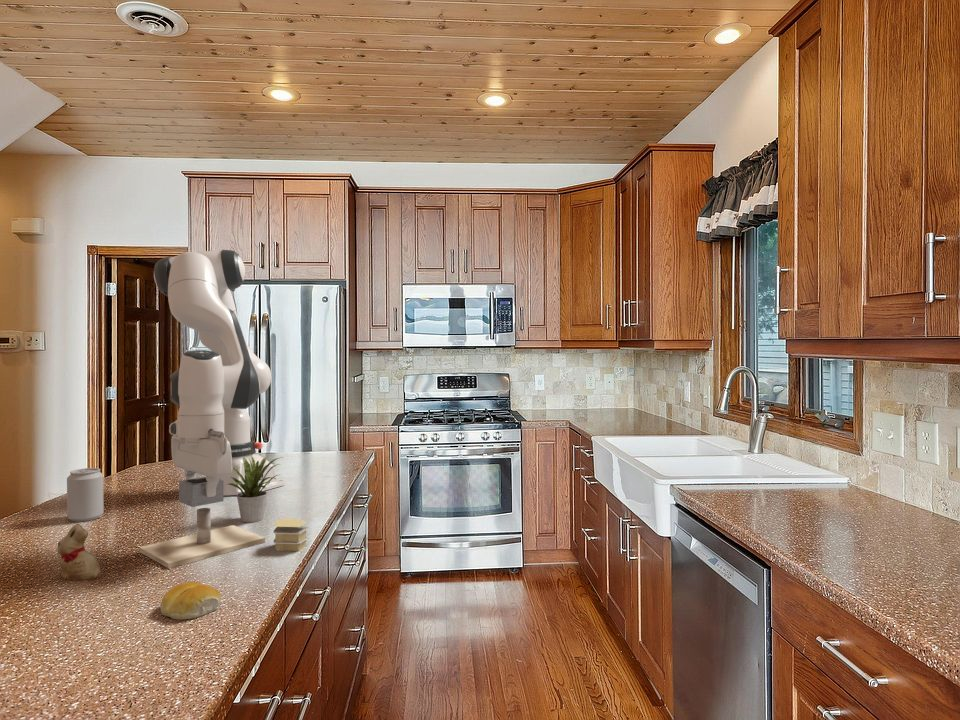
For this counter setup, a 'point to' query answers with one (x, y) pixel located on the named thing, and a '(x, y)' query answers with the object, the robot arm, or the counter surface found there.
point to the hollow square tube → (198, 492)
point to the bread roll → (190, 601)
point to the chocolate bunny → (77, 556)
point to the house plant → (252, 490)
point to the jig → (201, 543)
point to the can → (85, 494)
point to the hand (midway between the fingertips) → (201, 493)
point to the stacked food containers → (290, 534)
